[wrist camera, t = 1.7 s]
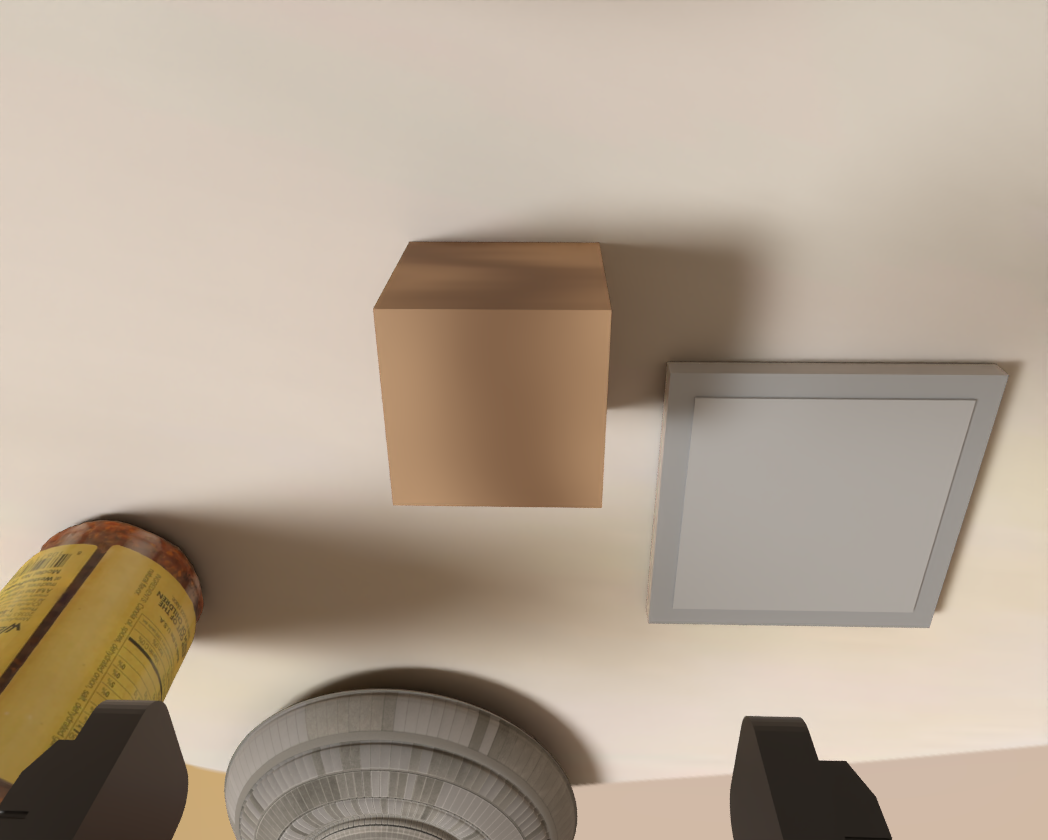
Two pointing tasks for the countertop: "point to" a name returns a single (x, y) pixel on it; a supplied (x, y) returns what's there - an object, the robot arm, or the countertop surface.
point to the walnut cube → (495, 374)
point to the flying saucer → (395, 773)
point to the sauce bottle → (89, 633)
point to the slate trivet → (814, 490)
